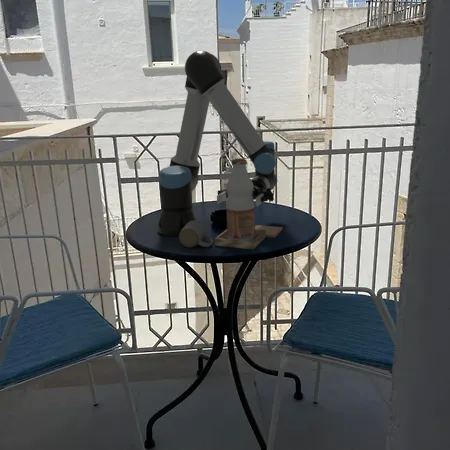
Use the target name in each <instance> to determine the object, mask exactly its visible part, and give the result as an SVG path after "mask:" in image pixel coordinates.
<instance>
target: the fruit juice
mask: <svg viewBox="0 0 450 450" xmlns="http://www.w3.org/2000/svg"><path fill="white" fill-rule="evenodd" d="M247 163H248V161H247V159H246V158H245V159H244V158H243V159H242V158H237V159H236V158H234V159H232V161H231V166H232V169H231V172H230V176H229V178H228V180H227V182H226V184H225V185H226V186H225V189H226V190H227V193H228V198H226V205H225V206H226V230H227V238H226V239H233V240H243V241H253V240H254V239H255V238H256V236H255V226H256V224H255V223H256V222H255V200H254V199H253V196H252V193H253V188H254V187H253V182H252V180H251V179H252V178H251V177H250V175H249V173H248V169H247Z"/></svg>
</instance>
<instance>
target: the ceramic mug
mask: <svg viewBox="0 0 450 450" xmlns="http://www.w3.org/2000/svg"><path fill="white" fill-rule="evenodd" d="M178 240H179V242H180V244H181V245H182V246H184V247H186V248H190V249H191V248H194V247H196V246H197V245H199V246H201V247H204V248H209V247H211V246H212V244H213V239H212V238H211V237H210V236H209V235H207V227H205V225H204V224H203V223H202V222H201V221H199V220H197V221H196V220H193V221H190V222H188V223H187V224H186V226H185V227H184V228H183V229H182V230H181V232H180V234H179V236H178ZM203 240H206V241H207V242H204V241H203Z"/></svg>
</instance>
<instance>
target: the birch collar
mask: <svg viewBox="0 0 450 450" xmlns="http://www.w3.org/2000/svg"><path fill="white" fill-rule="evenodd" d="M265 238H267V237H266V230H259V229H255V239H254V240H253V241H243V240H233V239H228V238H227V229H225V230H224V231H222V232H221V233H220V234H218V235H217V236H216V237H215V238H214V245H215V246H217V247H227V248H237V249H246V250H247V249H248V250H255V249H256V248H257V246H259V244H260V243H262V242H263V240H265Z"/></svg>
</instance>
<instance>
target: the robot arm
mask: <svg viewBox="0 0 450 450" xmlns="http://www.w3.org/2000/svg"><path fill="white" fill-rule="evenodd" d="M184 73H185V75H186V79H185V84H184V88H185V90H186V91H187V95H186V99H185V100H186V101H185V107H184V111H183V115H182V121H181V126H180V131H179V137H178V142H177V146H176V152H175V155H173V156H172V157H171V158H170V162H169V166H167V167H163V168H162V169H161V170H160V171H159V173H158V183H159V195H160V196H159V197H160V198H159V199H160V209H161V210H160V211H161V212H160V216H159V220H158V224H157V230H158V234H160V235H163V236H167V237H179V234H180V232H181V230H182V229H183V228H184V227H185V226H186V224H187V223H188V222H190V221H193V220H196V221H198V219H197V217H196V214H195V211H194V208H193V191H194V190H195V189H196V187H197V186H198V183H199V172H200V167H201V163H200V162H199V160H198V158H199V153H200V148H201V144H202V140H203V133H204V129H205V125H206V120H207V115H208V112H209V111H208V110H209V105H210V104H211V105H212V107H213V109H214V110H215V111H216V113H217V114H218V115H219V117H220V119H221V120H222V121H223V123H224V124H225V126H226V127H227V128H228V130H229V131H230V132H231V134H232V135H233V137H234V138H235V140H236V141H237V142H238V144H239V145H240V147H241V148H242V149H243V151H244V153H245V154H246V156H248V158H249V161H251V163H252V164H253V167H254V176H255V177H253V178H250V179H251V180H252V182H253V187H254V188H253V193H252V196H253V199H254V207H259V206H260V205H261V204H262V203H265V202H268V201H270V202H274V193H273V190H274V188H275V187H276V186H277V183H278V176H277V175H276V172H275V168H276V166H277V161H276V160H277V159H276V157H275V154H276V153H275V152H276V151H275V150H276V149H275V143H274V142H273V141H267V140H266V141H264V139H262V137H261V135H260V134H259V132H258V130H257V129H256V128H255V127H254V125H253V124H252V122H251V121H250V119H249V117H248V116H247V115H246V113H245V112H244V111H243V109H242V107H241V106H240V104H239V102H237V100H236V99H235V97H234V95H233V94H232V93H231V91H230V90H229V89H228V87H227V86H226V84H225V82H226V81H225V80H226V79H225V77H224V76H223V74H222V65H221V63H220V61H219V59H218V58H217V56H215V55H214V54H212V53H211V52H209V51H206V50H196V51H194V52H192V53H191V54H189V56H188V57H187V58H186V61H185V64H184ZM227 198H228V193H227V190H226V188H223V189H218V190H217V195H216V204H221V203H223V202H224V201H227Z"/></svg>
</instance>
